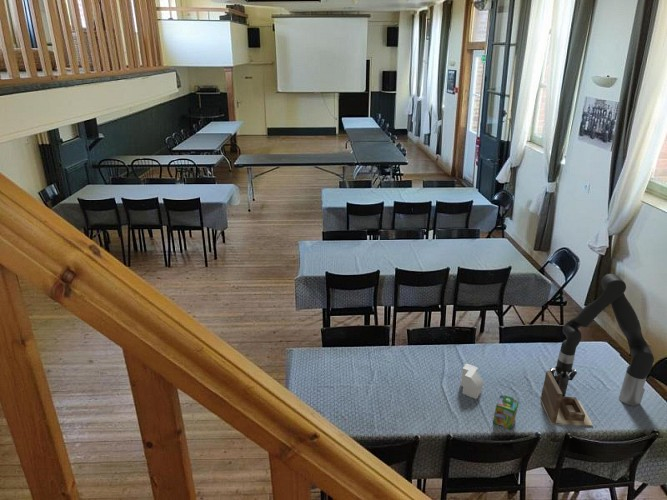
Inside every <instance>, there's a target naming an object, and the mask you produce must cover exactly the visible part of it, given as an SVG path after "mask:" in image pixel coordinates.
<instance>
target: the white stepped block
mask: <svg viewBox="0 0 667 500" xmlns="http://www.w3.org/2000/svg"><path fill="white" fill-rule="evenodd" d="M478 369H479V368H478V367H477V366H474V365H472V364H469V363H466V364H464V366H463V367H462V371H461V372H462V373H461V378H460V379H461V380H460V387H462V386H463V387H462V394H463V395H465V394H466V395H465V396H468V397H471V398H473V399H475V400H478V399H479V397H478V396H480V395H481V394H482V391H483V385H484V384H483V383H484V380H483V378H482V377H481V376H480V375H479V373H478Z"/></svg>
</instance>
